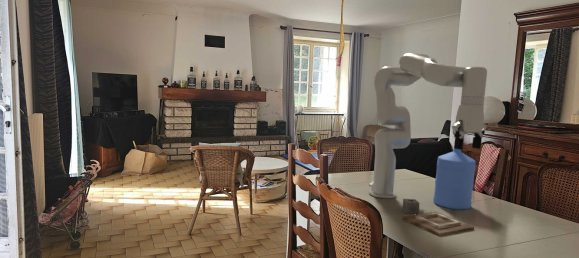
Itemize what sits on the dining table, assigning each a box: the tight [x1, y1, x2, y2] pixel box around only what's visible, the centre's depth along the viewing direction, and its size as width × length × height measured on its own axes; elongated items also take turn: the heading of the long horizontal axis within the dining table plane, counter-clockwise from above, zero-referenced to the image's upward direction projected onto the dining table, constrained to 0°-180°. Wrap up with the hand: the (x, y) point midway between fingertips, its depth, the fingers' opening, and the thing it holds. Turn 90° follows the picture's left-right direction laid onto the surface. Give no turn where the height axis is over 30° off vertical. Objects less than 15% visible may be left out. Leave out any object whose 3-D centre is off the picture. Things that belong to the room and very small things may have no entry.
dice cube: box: [401, 198, 421, 215], centre depth 157 cm, size 5×5×5 cm
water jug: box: [433, 141, 476, 211], centre depth 170 cm, size 16×16×28 cm
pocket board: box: [402, 211, 475, 237], centre depth 145 cm, size 18×18×2 cm
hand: (467, 148), depth 140 cm, fingers open, 9 cm apart
